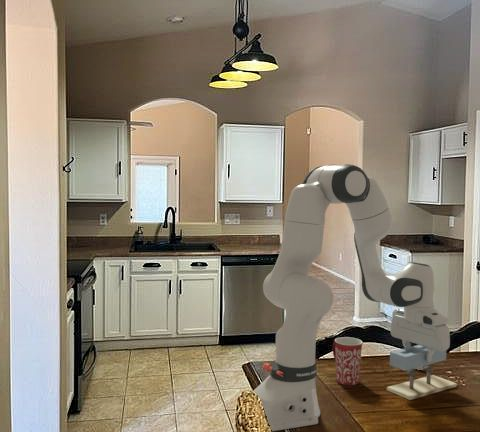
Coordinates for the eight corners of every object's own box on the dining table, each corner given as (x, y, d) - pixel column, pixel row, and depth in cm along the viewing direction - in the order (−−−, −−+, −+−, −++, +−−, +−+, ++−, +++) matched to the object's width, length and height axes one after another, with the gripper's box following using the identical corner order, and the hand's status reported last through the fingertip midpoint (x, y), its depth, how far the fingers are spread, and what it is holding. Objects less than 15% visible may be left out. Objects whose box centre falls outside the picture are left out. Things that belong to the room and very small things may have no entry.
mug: (367, 384, 163) (368, 343, 163) (343, 388, 160) (343, 345, 160) (346, 372, 175) (347, 333, 175) (323, 374, 172) (323, 335, 172)
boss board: (409, 400, 151) (410, 379, 151) (386, 390, 159) (387, 370, 158) (456, 386, 162) (457, 367, 162) (433, 377, 170) (433, 359, 170)
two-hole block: (405, 370, 152) (405, 357, 152) (389, 365, 157) (389, 351, 157) (446, 359, 162) (446, 346, 161) (430, 354, 167) (430, 342, 166)
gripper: (386, 308, 166) (385, 350, 166) (439, 322, 148) (439, 368, 149) (399, 306, 169) (399, 347, 170) (453, 319, 152) (452, 364, 152)
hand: (418, 357), depth 159 cm, fingers closed on two-hole block, 6 cm apart
